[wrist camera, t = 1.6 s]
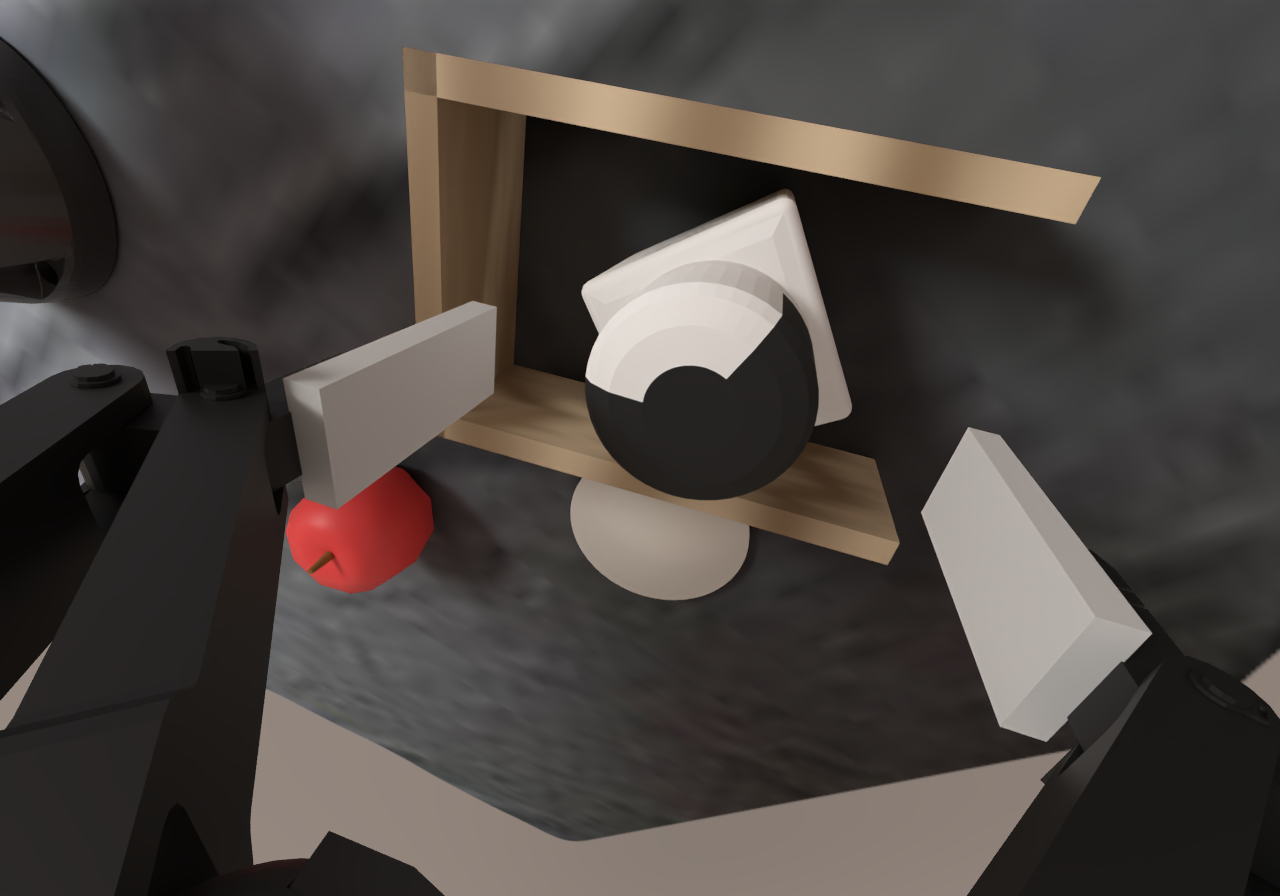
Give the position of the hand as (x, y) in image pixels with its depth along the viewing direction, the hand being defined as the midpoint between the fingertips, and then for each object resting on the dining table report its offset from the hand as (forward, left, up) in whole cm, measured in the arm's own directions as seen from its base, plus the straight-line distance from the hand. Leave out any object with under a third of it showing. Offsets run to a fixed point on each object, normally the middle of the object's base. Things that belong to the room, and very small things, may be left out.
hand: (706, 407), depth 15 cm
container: (0, 0, -12) cm, 12 cm away
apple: (-19, -18, -12) cm, 29 cm away
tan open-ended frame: (-1, 0, -12) cm, 12 cm away
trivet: (-1, -14, -12) cm, 19 cm away
